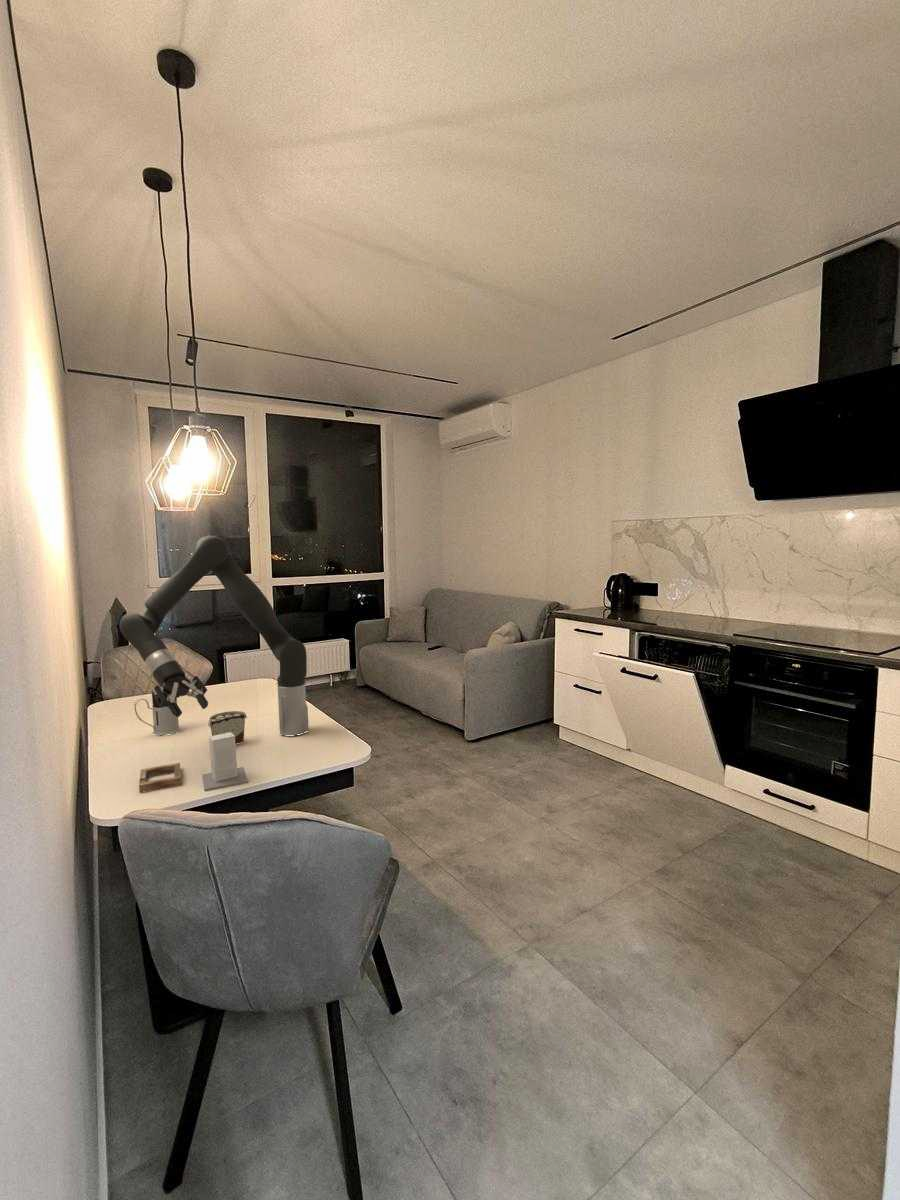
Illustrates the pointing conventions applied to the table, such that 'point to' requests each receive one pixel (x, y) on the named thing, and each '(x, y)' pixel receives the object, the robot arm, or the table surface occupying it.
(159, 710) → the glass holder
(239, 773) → the rubber pad
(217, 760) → the skincare box
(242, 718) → the food container
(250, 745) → the table surface
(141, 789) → the walnut holder
